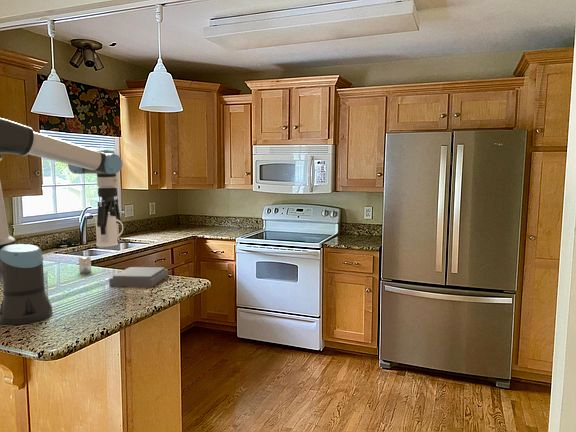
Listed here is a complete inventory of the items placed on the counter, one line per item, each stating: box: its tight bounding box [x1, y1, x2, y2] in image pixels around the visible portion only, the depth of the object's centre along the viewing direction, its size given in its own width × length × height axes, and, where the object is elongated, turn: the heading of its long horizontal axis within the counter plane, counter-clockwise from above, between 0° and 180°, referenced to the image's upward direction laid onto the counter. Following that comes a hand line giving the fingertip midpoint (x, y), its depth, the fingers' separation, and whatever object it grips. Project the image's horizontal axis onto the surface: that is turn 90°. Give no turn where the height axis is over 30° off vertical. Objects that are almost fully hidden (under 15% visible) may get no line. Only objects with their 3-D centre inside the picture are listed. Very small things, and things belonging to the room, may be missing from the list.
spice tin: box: [78, 256, 92, 275], centre depth 206 cm, size 5×5×7 cm
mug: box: [94, 215, 124, 248], centre depth 189 cm, size 12×8×12 cm
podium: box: [109, 266, 169, 288], centre depth 190 cm, size 18×18×4 cm
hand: (110, 240), depth 189 cm, fingers closed on mug, 9 cm apart
